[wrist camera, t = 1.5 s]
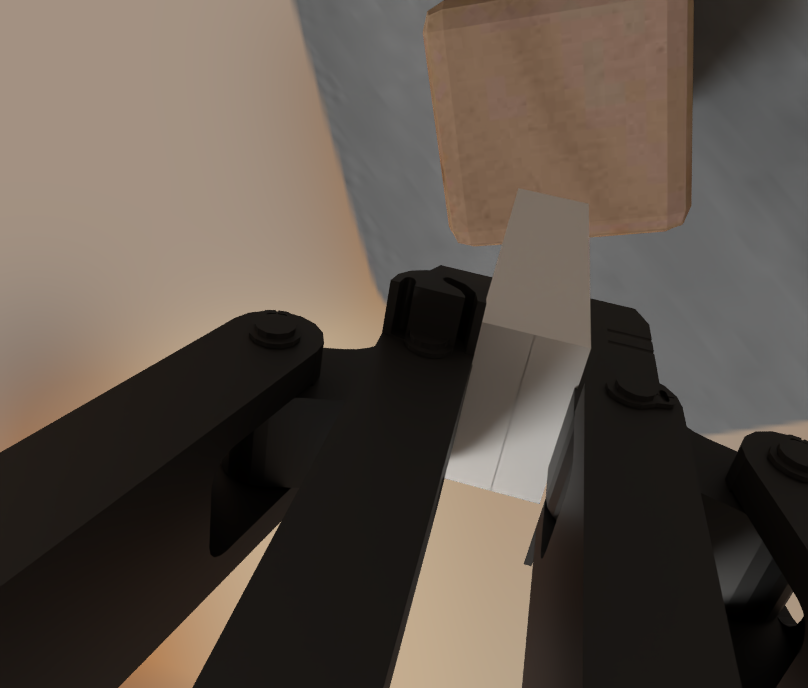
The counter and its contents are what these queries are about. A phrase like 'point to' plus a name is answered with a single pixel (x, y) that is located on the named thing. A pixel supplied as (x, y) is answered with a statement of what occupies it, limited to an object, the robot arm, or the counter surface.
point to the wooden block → (563, 110)
